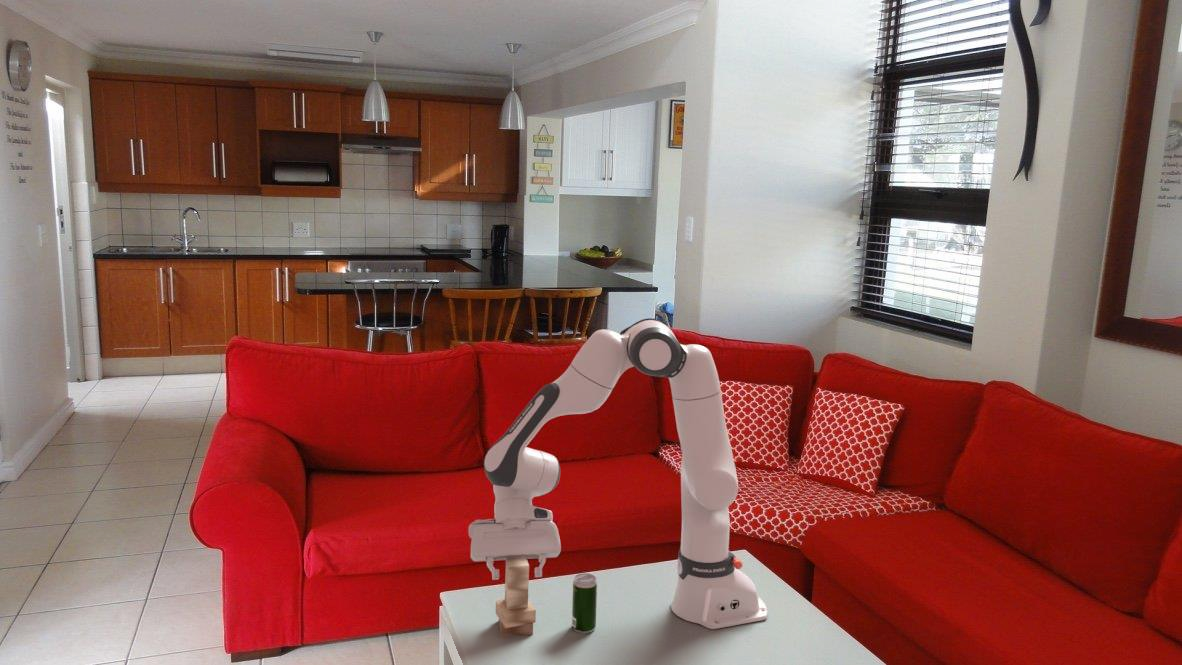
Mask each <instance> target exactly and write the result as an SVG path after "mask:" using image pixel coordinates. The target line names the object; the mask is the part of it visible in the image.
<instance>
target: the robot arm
mask: <svg viewBox="0 0 1182 665" xmlns="http://www.w3.org/2000/svg"><path fill="white" fill-rule="evenodd" d="M633 367H635V369H636V370H638V371H639V372H640V373H643V374H645V375H647V376H651V377H652V376H653V377H660V378H668V380H669V386H670V390H671V396H672V397H671V398H672V404H673V410H674V411H673V412H674V416H675V423H676V430H677V434H678V439H679V444H680V448H681V453H682V455H681V459H680V460H681V463H680V494H681V496H680V497H681V499H680V500H681V503H680V504H681V533H680V534H681V535H680V536H681V537H680V548H679V550H678V558H677V565H676V568H677V575H678V576H677V583H676V588H675V590H674V591H675V592H674V596H673V598H672V601H671V603H670V609H671V611H672V612H673V614H675V615H676V616H678V618H681V619H683V620H685V621H687V622H691V623H695V624H698V625H701V626H703V627H705V628H707V629H709V630H717V629H721V628H722V629H723V628H726V627H727V628H728V627H732V626H733V627H734V626H737V625H738V626H739V625H743V624H749V623H755V622H759V621H760V622H761V621H765V620H767V618H768V608H767V606H766V604H765V602H764V601H763V599H762V598H761V597H760V596H759V595H758V594H759V593H758V590H757V588H756V585H755V584H754V582H753V581H752V580H751V578H750V577H749V576H747V574H745V573H744V572H742V571H741V569H742V568H743V561H741V559H740V558H738V557H737V556H736V554H734V553H733V552H731V551H730V550H729V548H730V546H729V545H730V529H731V528H730V526H731V520H730V514H729V513H730V511H729V509H730V508H729V507H730V506H731V505H732V504H733V503H734V501H735V500H736V499H737V496H738V492H739V481H738V475H737V468H736V463H735V460H734V459H735V458H734V454H733V450H732V446H731V441H730V436H729V432H728V428H727V424H726V423H727V422H726V417H725V416H726V415H725V410H724V403H723V397H722V396H723V395H722V390H721V384H720V378H719V374H718V373H719V372H718V370H717V367H716V364H715V360H714V358H713V356H712V353H711V351H710V350H709V348H707V347H705V346H703V345H701V344H698V343H695V344H693V343H691V344H681V343H680V341H678V339H677V338H676V336H675V334H674V332H673V331H672V330H671V328H670V327H668V325H667V324H666V323H665V322H664V321H661V320H659V319H656V318H651V317H650V318H644V319H643V318H642V319H640V320H638V321H636V322H634V323H633V324H632V325H630V326H628V327H626V328H624V329H623V330H621V331H620V332H619V333H618V332H616V331H614V330H611V329H605V328H603V329H598V330H595V331H594V332H593V333H592V334H591V336H590V337H589V338H588V339H587V340H586V341H585V342H584V343H583V345H582V346H581V347H580V349H579V351H577V353H576V354H575V356H574V358H573V359H572V361H571V363H570V365H568V367H567V369H566V370H565V371H564V372H563V373H562V374H561V375H560V376H559V377H558V378H557V379H555V380H554V381H552V382H551V383H547V384H545V385H543V387H541V388H540V389H539V390H538V391H537V392H536V394H534V396H533V397H532V398H531V399H530V401H529V402H528V403H527V404H526V406H525V407H524V408H523V410H522V411H521V412H520V413H519V415H518V416H517V417H516V419H515V420H514V421H513V422H512V424H511V425H510V426H509V427H508V429H507V430H506V431H505V432H504V434H502V436H501V437H500V438H499V439H497V440H496V441H495V442H494V443H493V444H492V445H491V446H490V447H489V449H488V450H487V452H486V453H485V455H484V460H483V469H484V470H483V471H484V473H485V475H486V477H487V479H488V481H490V483H491V484H492V486H493V487H492V488H493V490H492V491H493V493H494V498H495V501H494V505H493V507H494V508H493V510H494V518H488V519H475V520H474V521H473V522H471V523H470V524H469V526H468V536H469V538H470V539H471V542H470V559H471V560H472V561H473V562H486V567H487V569H489V572H491V578H492V581H495V580H499V579H500V569H499V568H498V569H497V568H495V567H494V561H506V558H514V557H526V558H527V560H528V559H529V560H530V559H531V560H532V559H538V563H540V564H539V566H538V567H537V566H536V567H535V568H534V578H542V577H543V567H544V565H545V564H546V561H547V558H548V559H550V558H551V559H552V558H557V557H558V556H559V555H560V554H561V552H562V551H561V550H562V546H561V539H560V534H559V528H558V527H557V525H556V523H555V522H553V518H554V516H553V511H552V510H549V509H546V508H542V507H539V506H535V505H533V502H532V501H533V499H534V498H535V497H541V496H545V495H547V494H549V493H550V492H552V491H553V490H554V489H555V488H556V487H557V486H558V484H559V483H560V478H561V466H560V465H561V464H560V462H559V460H558V458H557V457H556V456H555V455H553V454H551V453H548V452H545V451H542V450H538V449H534V448H531V447H527V446H528V445H529V444H530V442H531V441H532V440H533V439H534V438H535V436H536V435H537V434H538V432H540V430H541V428H542V427H543V426H544V425H545V424H547V422H548V421H550V420H552V419H555V418H557V417H560V416H561V417H562V416H568V415H582V414H583V415H584V414H585V415H586V414H588V413H592V412H594V411H596V410H598V409H600V408H601V406H603V404H604V403H605V402H606V401H607V399H608V398H609V396H610V395H611V393H612V391H613V389H614V388H615V386H616V385H617V383H618V380H619V379H620V377H621V376H622V375H623V374H624V372H626V371H627V370H628V369H631V368H633Z"/></svg>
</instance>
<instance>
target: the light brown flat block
mask: <svg viewBox="0 0 1182 665" xmlns="http://www.w3.org/2000/svg"><path fill="white" fill-rule="evenodd" d="M498 624H499V626H498V627H499V632H500V637H501V638H506V637H520V636H521V637H522V636H532V635H533V634H534V623H530V624H525V625H520V626H515V627H510V628H505V627H504V626H503V624H502V622H501V621H500V619H499V618H498Z"/></svg>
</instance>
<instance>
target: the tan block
mask: <svg viewBox="0 0 1182 665" xmlns="http://www.w3.org/2000/svg"><path fill="white" fill-rule="evenodd" d="M529 573H530V564H529V561H528V559H527V558H526V557H514V558H506V560H505V576H504V578H505V581H504V582H505V583H504V599H505V603H506V606H507V610H508V609H522V608H528V600H529V585H530V584H529V580H530V578H529V577H530V574H529Z"/></svg>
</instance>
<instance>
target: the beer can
mask: <svg viewBox="0 0 1182 665" xmlns="http://www.w3.org/2000/svg"><path fill="white" fill-rule="evenodd" d="M597 595H598V581H597V577H596V576H595V575H594V574H593V573H586V572H585V573H583V572H582V573H578V574H576V575H574V577H573V581H572V605H571V606H572V607H571V608H572V609H571V610H572V611H571V627H572V630H575V631H574V632H576V633H577V632H578V634H581V633H582V634H584V635H586V634H585V633H587V634H590V633H593V632H594V630H596V626H597V605H598V604H597V603H598V602H597V599H598V596H597ZM592 631H593V632H592ZM582 634H581V635H582Z"/></svg>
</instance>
